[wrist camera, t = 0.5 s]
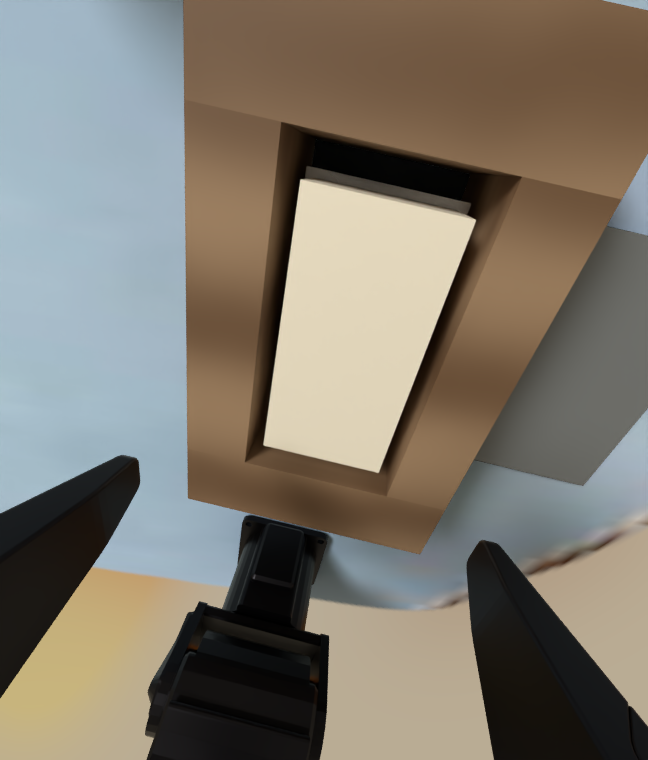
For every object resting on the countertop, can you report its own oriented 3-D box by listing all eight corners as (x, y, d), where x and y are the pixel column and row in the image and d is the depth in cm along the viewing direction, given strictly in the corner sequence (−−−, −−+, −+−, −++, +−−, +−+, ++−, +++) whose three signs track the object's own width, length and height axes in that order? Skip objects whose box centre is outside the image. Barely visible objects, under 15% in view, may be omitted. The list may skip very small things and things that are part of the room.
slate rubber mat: (578, 479, 21) (583, 485, 21) (448, 448, 21) (449, 454, 21) (756, 260, 15) (768, 263, 14) (565, 216, 15) (570, 218, 14)
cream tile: (378, 435, 17) (378, 472, 15) (277, 411, 17) (263, 445, 15) (458, 211, 12) (476, 220, 10) (313, 177, 12) (300, 179, 10)
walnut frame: (410, 465, 23) (419, 554, 17) (231, 422, 23) (187, 498, 17) (579, 85, 13) (719, 26, 7) (261, 14, 13) (182, -93, 8)
